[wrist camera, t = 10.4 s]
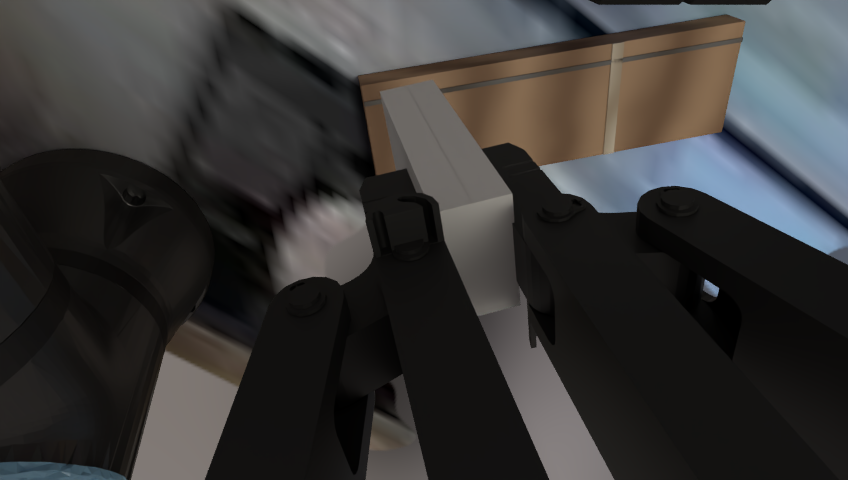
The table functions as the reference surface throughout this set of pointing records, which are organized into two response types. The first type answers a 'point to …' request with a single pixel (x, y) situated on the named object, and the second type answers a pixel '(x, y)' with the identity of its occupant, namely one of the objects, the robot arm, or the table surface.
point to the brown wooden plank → (580, 91)
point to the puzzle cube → (677, 0)
